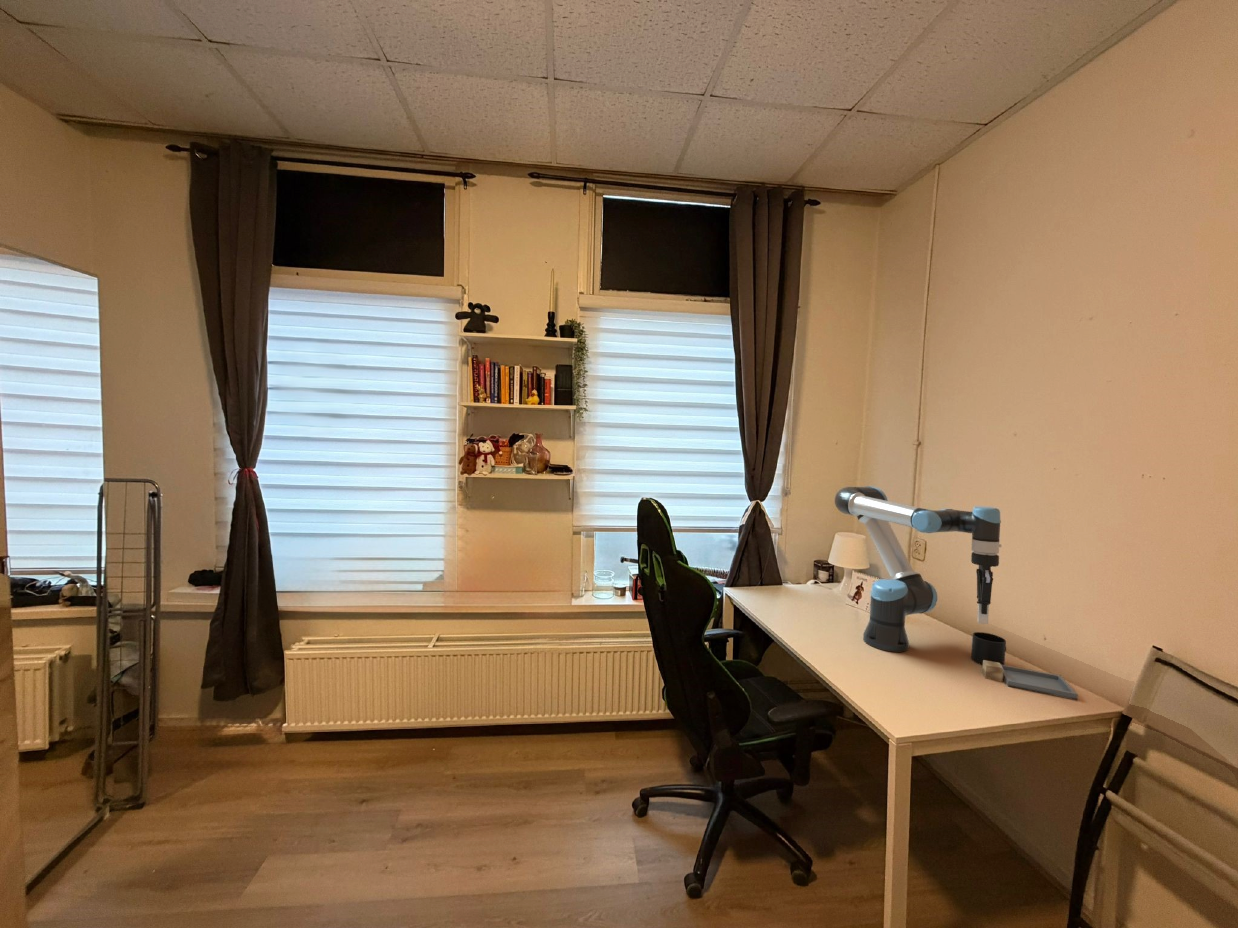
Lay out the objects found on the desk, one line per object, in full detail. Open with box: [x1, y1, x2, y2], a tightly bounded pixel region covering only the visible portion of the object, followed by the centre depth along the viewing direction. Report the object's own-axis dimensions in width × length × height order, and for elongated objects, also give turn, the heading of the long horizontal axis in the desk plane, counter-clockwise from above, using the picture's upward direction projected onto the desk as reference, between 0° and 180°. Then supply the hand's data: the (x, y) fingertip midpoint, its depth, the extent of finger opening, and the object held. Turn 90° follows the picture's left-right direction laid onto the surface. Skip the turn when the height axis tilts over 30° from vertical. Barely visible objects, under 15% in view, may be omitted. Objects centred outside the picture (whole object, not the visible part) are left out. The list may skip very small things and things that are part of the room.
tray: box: [1001, 664, 1079, 701], centre depth 161 cm, size 17×14×2 cm
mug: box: [970, 631, 1007, 666], centre depth 176 cm, size 9×12×9 cm
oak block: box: [981, 660, 1003, 683], centre depth 165 cm, size 4×4×4 cm
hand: (982, 622), depth 169 cm, fingers closed
